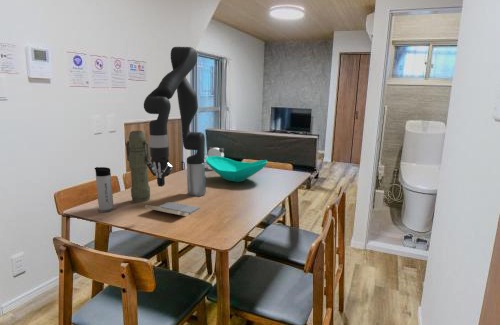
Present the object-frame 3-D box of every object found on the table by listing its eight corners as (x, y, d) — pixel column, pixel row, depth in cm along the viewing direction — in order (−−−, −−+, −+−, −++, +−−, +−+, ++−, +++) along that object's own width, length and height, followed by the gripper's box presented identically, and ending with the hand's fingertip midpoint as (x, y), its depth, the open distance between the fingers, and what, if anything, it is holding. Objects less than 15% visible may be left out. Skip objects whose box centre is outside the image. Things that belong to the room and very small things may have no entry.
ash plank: (156, 210, 153) (157, 206, 153) (188, 216, 145) (189, 213, 145) (144, 207, 146) (145, 204, 146) (177, 214, 138) (178, 211, 138)
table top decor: (273, 178, 212) (273, 157, 209) (258, 189, 186) (259, 166, 184) (217, 172, 225) (216, 153, 223) (196, 182, 200) (196, 161, 197)
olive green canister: (134, 197, 171) (129, 129, 164) (156, 198, 169) (152, 130, 162) (125, 203, 162) (120, 131, 155) (148, 204, 161) (144, 132, 153)
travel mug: (102, 207, 156) (98, 166, 152) (116, 207, 156) (112, 166, 152) (95, 212, 150) (91, 169, 146) (110, 212, 150) (106, 169, 146)
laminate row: (169, 204, 161) (168, 201, 160) (199, 210, 153) (199, 207, 153) (158, 209, 154) (158, 206, 154) (190, 215, 146) (189, 212, 146)
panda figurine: (227, 167, 241) (226, 147, 238) (219, 170, 231) (219, 149, 228) (212, 165, 246) (212, 146, 243) (204, 169, 236) (204, 148, 233)
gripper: (177, 145, 138) (179, 185, 141) (153, 143, 143) (155, 182, 147) (165, 148, 131) (167, 190, 134) (140, 145, 137) (142, 186, 140)
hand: (161, 185), depth 141 cm, fingers closed
